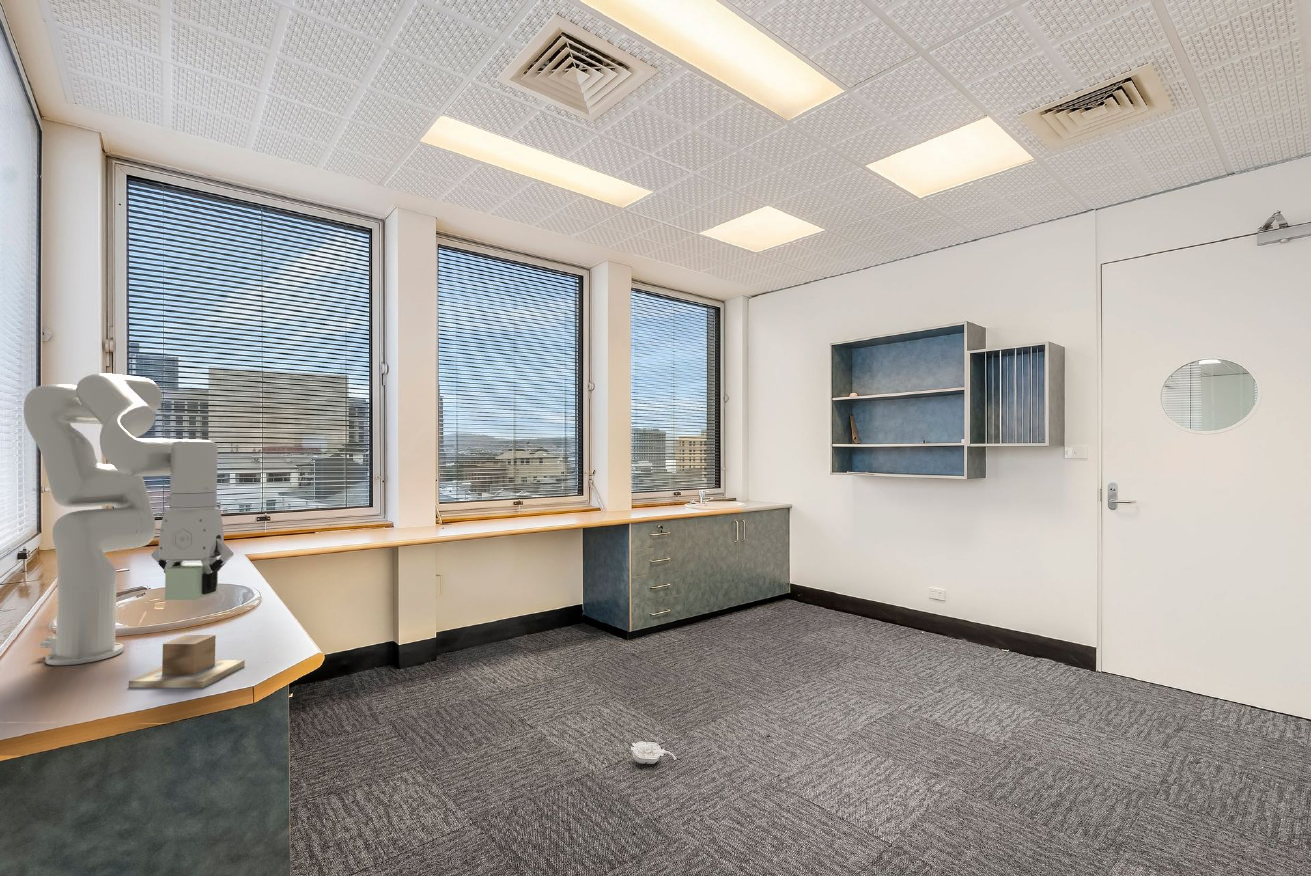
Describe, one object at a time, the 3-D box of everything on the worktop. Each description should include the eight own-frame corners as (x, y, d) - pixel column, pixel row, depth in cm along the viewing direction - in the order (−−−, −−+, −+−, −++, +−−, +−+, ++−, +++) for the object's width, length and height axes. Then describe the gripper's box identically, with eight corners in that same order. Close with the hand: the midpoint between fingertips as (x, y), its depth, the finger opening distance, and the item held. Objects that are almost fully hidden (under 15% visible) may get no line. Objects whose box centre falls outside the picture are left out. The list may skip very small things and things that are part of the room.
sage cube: (164, 599, 121) (165, 568, 121) (187, 593, 127) (188, 563, 127) (196, 599, 121) (196, 568, 121) (217, 592, 127) (218, 563, 127)
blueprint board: (128, 687, 118) (128, 680, 118) (176, 665, 130) (176, 659, 130) (203, 687, 118) (203, 681, 118) (244, 665, 130) (244, 660, 130)
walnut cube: (162, 675, 121) (162, 644, 121) (184, 664, 127) (185, 634, 127) (193, 675, 121) (194, 644, 121) (214, 664, 127) (215, 635, 127)
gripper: (134, 503, 121) (132, 597, 120) (224, 503, 121) (222, 597, 121) (164, 500, 128) (162, 589, 128) (249, 500, 129) (247, 588, 128)
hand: (192, 592), depth 124 cm, fingers closed on sage cube, 6 cm apart
